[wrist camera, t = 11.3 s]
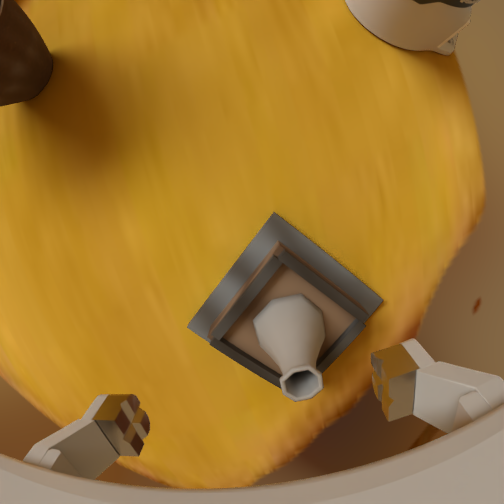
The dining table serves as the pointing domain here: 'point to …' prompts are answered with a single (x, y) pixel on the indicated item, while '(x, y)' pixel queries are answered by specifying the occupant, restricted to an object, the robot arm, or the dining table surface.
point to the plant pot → (21, 56)
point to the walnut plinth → (257, 254)
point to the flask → (293, 343)
